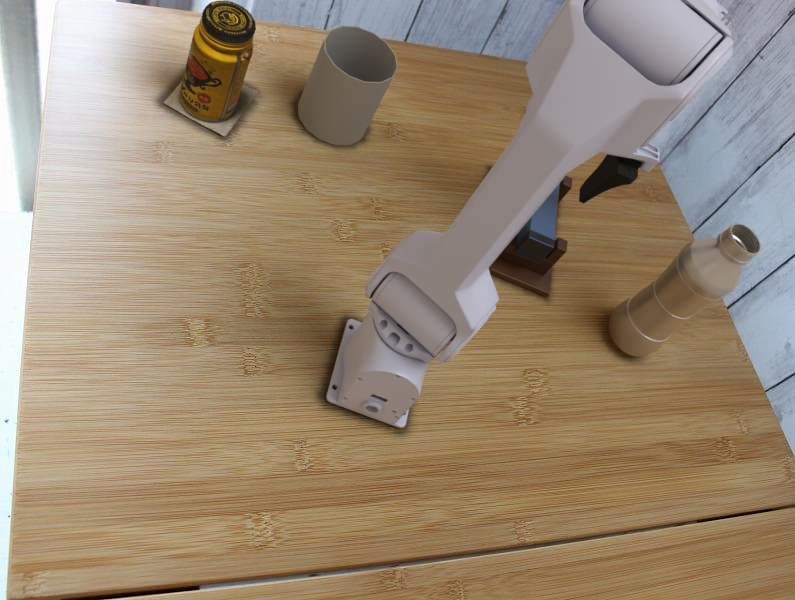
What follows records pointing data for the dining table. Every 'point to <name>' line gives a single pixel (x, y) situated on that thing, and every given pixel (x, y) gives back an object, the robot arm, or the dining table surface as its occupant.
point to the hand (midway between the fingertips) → (551, 182)
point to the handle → (539, 231)
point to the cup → (346, 85)
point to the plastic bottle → (682, 290)
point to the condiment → (217, 68)
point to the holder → (527, 270)
